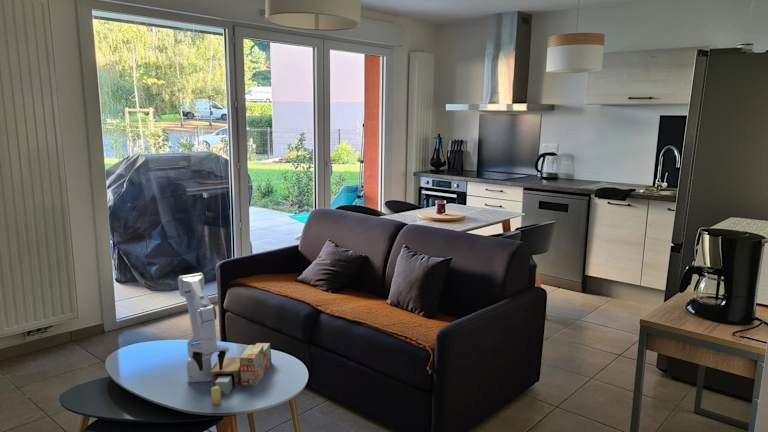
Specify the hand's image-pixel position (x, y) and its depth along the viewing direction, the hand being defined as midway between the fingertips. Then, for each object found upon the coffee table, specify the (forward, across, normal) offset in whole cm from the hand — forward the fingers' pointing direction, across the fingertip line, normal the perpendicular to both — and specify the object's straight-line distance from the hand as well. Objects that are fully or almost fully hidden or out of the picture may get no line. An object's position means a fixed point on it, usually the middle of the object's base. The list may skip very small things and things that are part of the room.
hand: (211, 369), depth 209 cm
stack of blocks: (+10, +14, +16) cm, 24 cm away
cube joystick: (+10, +4, -3) cm, 11 cm away
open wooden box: (+10, +4, +11) cm, 15 cm away
